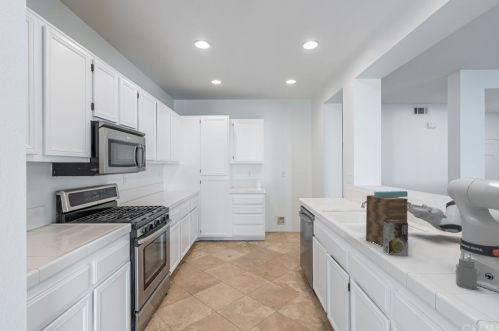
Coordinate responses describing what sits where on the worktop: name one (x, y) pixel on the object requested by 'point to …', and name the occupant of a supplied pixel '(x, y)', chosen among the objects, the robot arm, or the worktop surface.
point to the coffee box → (395, 237)
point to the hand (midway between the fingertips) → (415, 204)
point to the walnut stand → (383, 215)
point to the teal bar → (390, 194)
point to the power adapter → (466, 273)
